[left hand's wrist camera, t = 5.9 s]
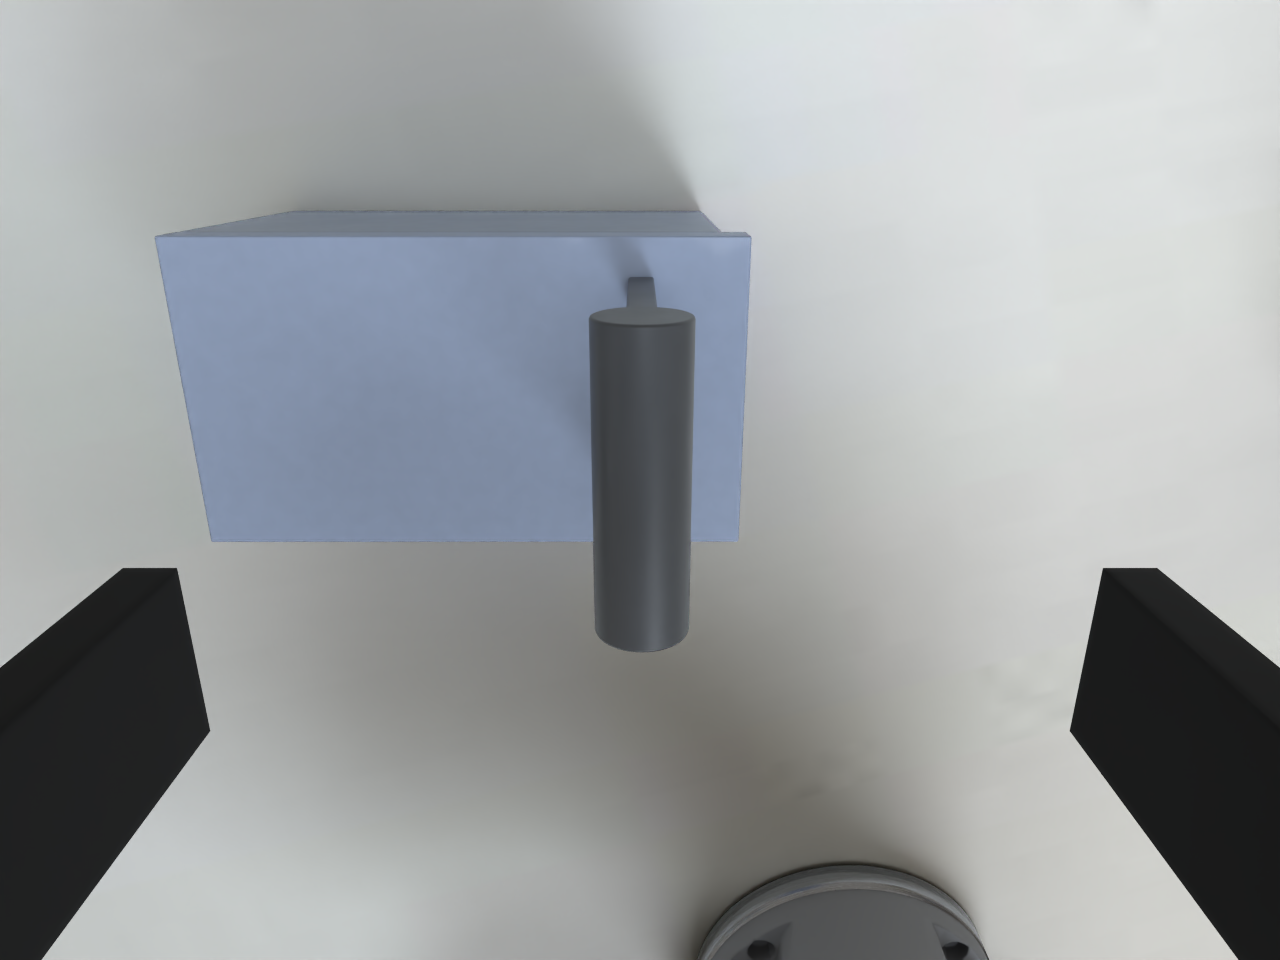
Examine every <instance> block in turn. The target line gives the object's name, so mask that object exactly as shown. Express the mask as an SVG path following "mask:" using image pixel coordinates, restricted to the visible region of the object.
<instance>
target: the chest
mask: <svg viewBox="0 0 1280 960" xmlns="http://www.w3.org/2000/svg"><path fill="white" fill-rule="evenodd" d="M181 232H721V231H720V230H719V229H718V228H717V227H716V226H715V225H714V224H713V223H712V222H711V221H710V220H709V219H708V218H707V217H706V216H705V215H704V214H703V213H702V212H701V211H291V212H285V213H280V214H274V215H269V216H263V217H258V218H252V219H247V220H242V221H236V222H231V223H225V224H220V225H214V226H209V227H203V228H198V229H192V230H187V231H181Z"/></svg>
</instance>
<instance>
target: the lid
mask: <svg viewBox="0 0 1280 960" xmlns="http://www.w3.org/2000/svg"><path fill="white" fill-rule="evenodd" d="M155 241H156V246H157V252H158V257H159V262H160V268H161V273H162V278H163V284H164V289H165V294H166V300H167V305H168V311H169V316H170V321H171V327H172V332H173V337H174V343H175V348H176V353H177V359H178V364H179V369H180V375H181V380H182V386H183V391H184V396H185V402H186V407H187V412H188V418H189V423H190V428H191V434H192V439H193V445H194V450H195V455H196V461H197V466H198V471H199V477H200V482H201V487H202V493H203V498H204V503H205V509H206V514H207V520H208V525H209V530H210V536H211V541H212V542H593V558H594V607H595V631H596V633H597V635H598V637H599V638H600V639H601V640H602V641H603V642H605V643H606V644H608V645H610V646H612V647H614V648H617V649H621V650H625V651H631V652H653V651H659V650H663V649H667V648H670V647H672V646H674V645H676V644H678V643H679V642H681V641H682V640H683V639H684V638H685V636H686V634H687V633H688V630H689V596H690V552H691V541H738V537H739V514H740V491H741V468H742V444H743V421H744V398H745V375H746V352H747V329H748V305H749V282H750V259H751V236H750V235H748V234H747V233H746V232H175V233H169V234H164V235H158V236H155Z"/></svg>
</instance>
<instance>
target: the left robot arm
mask: <svg viewBox="0 0 1280 960" xmlns="http://www.w3.org/2000/svg"><path fill="white" fill-rule="evenodd" d="M209 732H210V728H209V723H208V718H207V713H206V708H205V703H204V698H203V693H202V688H201V684H200V679H199V674H198V669H197V664H196V659H195V654H194V649H193V644H192V639H191V635H190V630H189V625H188V620H187V615H186V610H185V605H184V600H183V595H182V591H181V586H180V581H179V576H178V571H177V568H122V569H121V570H120V571H119V572H118V573H116V574H115V575H114V576H113V577H111V578H110V579H109V580H108V581H106V582H105V583H104V584H103V585H102V586H100V587H99V588H98V589H97V590H95V591H94V592H93V593H92V594H90V595H89V596H88V597H87V598H86V599H84V600H83V601H82V602H81V603H79V604H78V605H77V606H76V607H74V608H73V609H72V610H71V611H70V612H68V613H67V614H66V615H65V616H63V617H62V618H61V619H60V620H58V621H57V622H56V623H55V624H54V625H52V626H51V627H50V628H49V629H47V630H46V631H45V632H44V633H42V634H41V635H40V636H39V637H38V638H36V639H35V640H34V641H33V642H31V643H30V644H29V645H28V646H26V647H25V648H24V649H23V650H22V651H20V652H19V653H18V654H17V655H15V656H14V657H13V658H12V659H10V660H9V661H8V662H7V663H6V664H4V665H3V666H2V667H1V668H0V960H42V958H43V957H44V956H45V954H46V953H47V952H48V950H49V949H50V947H51V946H52V945H53V943H54V942H55V941H56V939H57V938H58V937H59V935H60V934H61V933H62V931H63V930H64V928H65V927H66V926H67V924H68V923H69V922H70V920H71V919H72V918H73V916H74V915H75V914H76V912H77V911H78V909H79V908H80V907H81V905H82V904H83V903H84V901H85V900H86V899H87V897H88V896H89V895H90V893H91V892H92V890H93V889H94V888H95V886H96V885H97V884H98V882H99V881H100V880H101V878H102V877H103V876H104V874H105V873H106V871H107V870H108V869H109V867H110V866H111V865H112V863H113V862H114V861H115V859H116V858H117V857H118V855H119V854H120V853H121V851H122V850H123V848H124V847H125V846H126V844H127V843H128V842H129V840H130V839H131V838H132V836H133V835H134V834H135V832H136V831H137V829H138V828H139V827H140V825H141V824H142V823H143V821H144V820H145V819H146V817H147V816H148V815H149V813H150V812H151V810H152V809H153V808H154V806H155V805H156V804H157V802H158V801H159V800H160V798H161V797H162V796H163V794H164V793H165V791H166V790H167V789H168V787H169V786H170V785H171V783H172V782H173V781H174V779H175V778H176V777H177V775H178V774H179V772H180V771H181V770H182V768H183V767H184V766H185V764H186V763H187V762H188V760H189V759H190V758H191V756H192V755H193V753H194V752H195V751H196V749H197V748H198V747H199V745H200V744H201V743H202V741H203V740H204V739H205V737H206V736H207V735H208V733H209ZM1070 732H1071V733H1072V735H1073V736H1074V737H1075V739H1076V740H1077V741H1078V743H1079V744H1080V745H1081V747H1082V748H1083V749H1084V751H1085V752H1086V753H1087V755H1088V756H1089V758H1090V759H1091V760H1092V762H1093V763H1094V764H1095V766H1096V767H1097V768H1098V770H1099V771H1100V772H1101V774H1102V775H1103V777H1104V778H1105V779H1106V781H1107V782H1108V783H1109V785H1110V786H1111V787H1112V789H1113V790H1114V791H1115V793H1116V794H1117V796H1118V797H1119V798H1120V800H1121V801H1122V802H1123V804H1124V805H1125V806H1126V808H1127V809H1128V810H1129V812H1130V813H1131V815H1132V816H1133V817H1134V819H1135V820H1136V821H1137V823H1138V824H1139V825H1140V827H1141V828H1142V829H1143V831H1144V832H1145V834H1146V835H1147V836H1148V838H1149V839H1150V840H1151V842H1152V843H1153V844H1154V846H1155V847H1156V848H1157V850H1158V851H1159V853H1160V854H1161V855H1162V857H1163V858H1164V859H1165V861H1166V862H1167V863H1168V865H1169V866H1170V867H1171V869H1172V870H1173V871H1174V873H1175V874H1176V876H1177V877H1178V878H1179V880H1180V881H1181V882H1182V884H1183V885H1184V886H1185V888H1186V889H1187V890H1188V892H1189V893H1190V895H1191V896H1192V897H1193V899H1194V900H1195V901H1196V903H1197V904H1198V905H1199V907H1200V908H1201V909H1202V911H1203V912H1204V914H1205V915H1206V916H1207V918H1208V919H1209V920H1210V922H1211V923H1212V924H1213V926H1214V927H1215V928H1216V930H1217V931H1218V933H1219V934H1220V935H1221V937H1222V938H1223V939H1224V941H1225V942H1226V943H1227V945H1228V946H1229V947H1230V949H1231V950H1232V952H1233V953H1234V954H1235V956H1236V957H1237V958H1238V960H1280V668H1279V667H1278V666H1277V665H1276V664H1274V663H1273V662H1272V661H1271V660H1270V659H1268V658H1267V657H1266V656H1265V655H1263V654H1262V653H1261V652H1260V651H1258V650H1257V649H1256V648H1255V647H1254V646H1252V645H1251V644H1250V643H1249V642H1247V641H1246V640H1245V639H1244V638H1242V637H1241V636H1240V635H1239V634H1238V633H1236V632H1235V631H1234V630H1233V629H1231V628H1230V627H1229V626H1228V625H1226V624H1225V623H1224V622H1223V621H1222V620H1220V619H1219V618H1218V617H1217V616H1215V615H1214V614H1213V613H1212V612H1210V611H1209V610H1208V609H1207V608H1206V607H1204V606H1203V605H1202V604H1201V603H1199V602H1198V601H1197V600H1196V599H1194V598H1193V597H1192V596H1191V595H1190V594H1188V593H1187V592H1186V591H1185V590H1183V589H1182V588H1181V587H1180V586H1178V585H1177V584H1176V583H1175V582H1174V581H1172V580H1171V579H1170V578H1169V577H1167V576H1166V575H1165V574H1164V573H1162V572H1161V571H1160V570H1159V569H1158V568H1103V571H1102V576H1101V581H1100V586H1099V591H1098V595H1097V600H1096V605H1095V610H1094V615H1093V620H1092V625H1091V630H1090V635H1089V639H1088V644H1087V649H1086V654H1085V659H1084V664H1083V669H1082V674H1081V679H1080V684H1079V688H1078V693H1077V698H1076V703H1075V708H1074V713H1073V718H1072V723H1071V728H1070ZM697 960H989V958H988V956H987V954H986V951H985V949H984V947H983V944H982V942H981V940H980V937H979V935H978V933H977V930H976V928H975V926H974V925H973V923H972V921H971V920H970V918H969V917H968V915H967V914H966V913H965V911H964V910H963V909H962V908H961V907H960V906H959V905H958V904H957V903H956V902H955V901H954V900H953V899H952V898H950V897H949V896H948V895H947V894H945V893H944V892H943V891H941V890H939V889H938V888H936V887H935V886H933V885H931V884H929V883H927V882H925V881H923V880H921V879H919V878H916V877H914V876H911V875H909V874H905V873H902V872H899V871H895V870H890V869H885V868H880V867H872V866H859V865H842V866H829V867H821V868H815V869H810V870H805V871H802V872H798V873H794V874H791V875H788V876H785V877H782V878H779V879H777V880H775V881H773V882H770V883H768V884H766V885H764V886H762V887H760V888H758V889H757V890H755V891H753V892H751V893H750V894H748V895H747V896H745V897H744V898H742V899H741V900H740V901H738V902H737V903H736V904H735V905H733V906H732V907H731V908H730V909H729V910H728V911H727V912H726V913H725V914H724V915H723V916H722V917H721V918H720V919H719V920H718V922H717V923H716V924H715V925H714V927H713V928H712V929H711V931H710V932H709V934H708V935H707V937H706V939H705V941H704V943H703V945H702V947H701V950H700V953H699V955H698V959H697Z"/></svg>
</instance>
